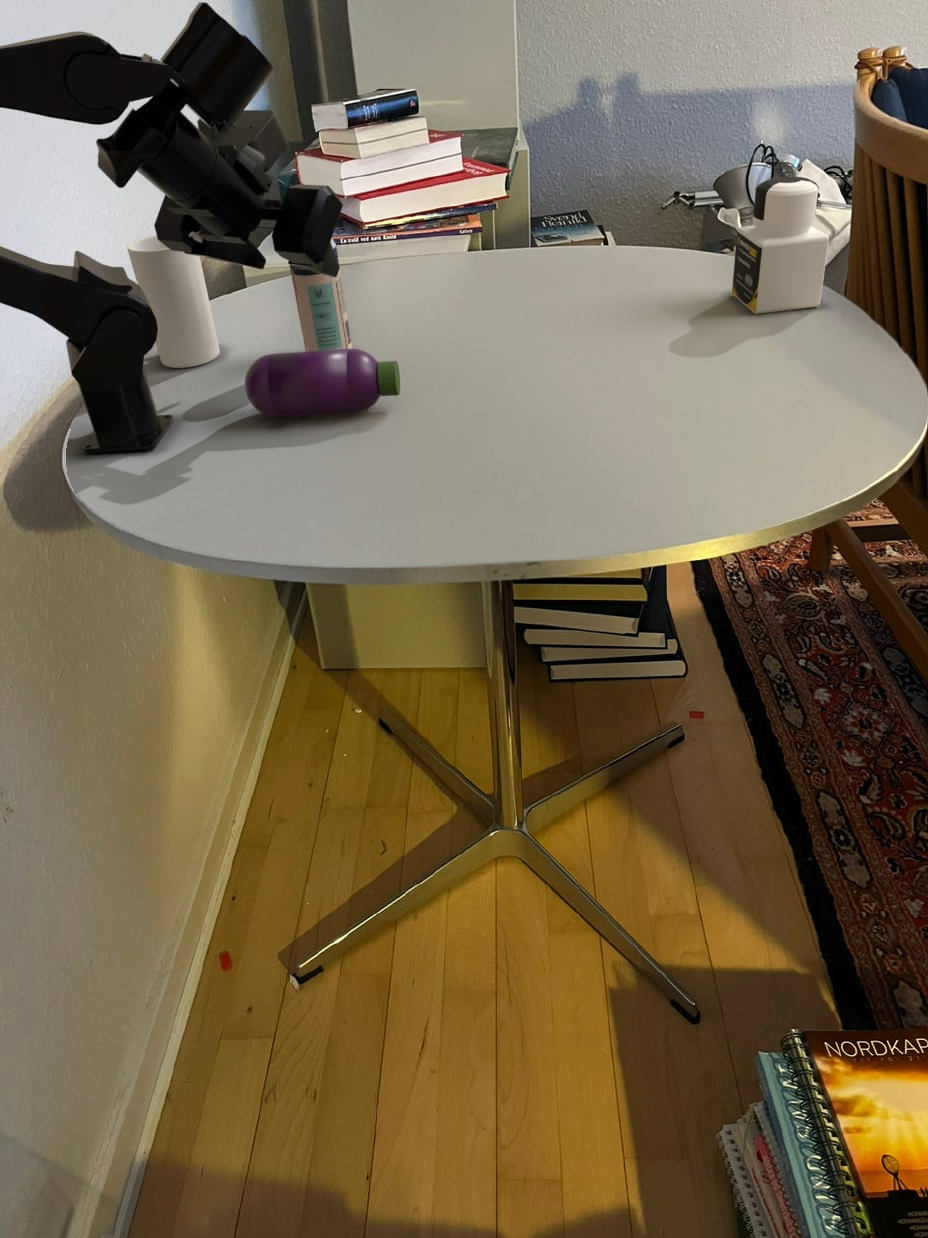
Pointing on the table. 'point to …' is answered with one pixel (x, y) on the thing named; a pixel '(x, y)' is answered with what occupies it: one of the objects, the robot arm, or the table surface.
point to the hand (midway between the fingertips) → (299, 268)
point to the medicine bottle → (781, 249)
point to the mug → (176, 302)
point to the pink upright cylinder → (321, 309)
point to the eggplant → (319, 382)
